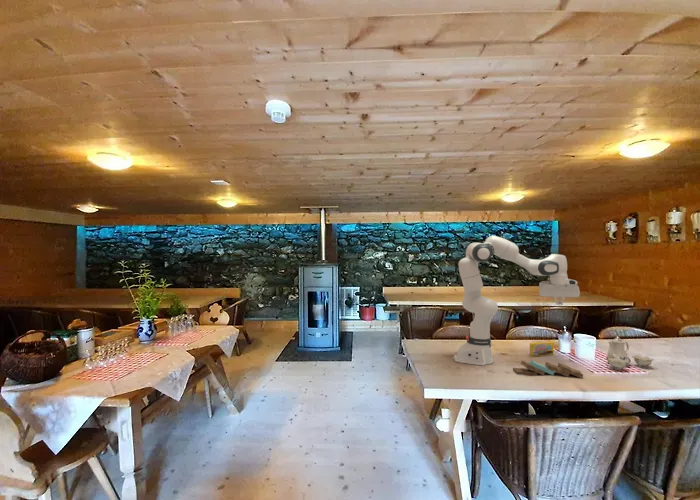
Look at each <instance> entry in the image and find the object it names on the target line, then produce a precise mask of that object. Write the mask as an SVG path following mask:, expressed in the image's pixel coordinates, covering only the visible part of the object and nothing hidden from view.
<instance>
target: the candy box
mask: <svg viewBox="0 0 700 500" xmlns="http://www.w3.org/2000/svg"><path fill="white" fill-rule="evenodd" d="M541 356H542V357H544V356H554V341H541V342H530V343H529V357H531V358H532V357H533V358H534V357H541Z"/></svg>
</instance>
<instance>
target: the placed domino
mask: <svg viewBox="0 0 700 500" xmlns="http://www.w3.org/2000/svg"><path fill="white" fill-rule="evenodd" d="M529 364H531V365H532V366H534V367H535V368H537V369H540V370H542V371H544V372H545V373H546V374H549V375H551V376H554V375H555V371H552V370H550V369H547V368H546V366H545V365H543V364H541V363H538V362H536V361H534V360H532V359H530V361H529Z"/></svg>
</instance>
